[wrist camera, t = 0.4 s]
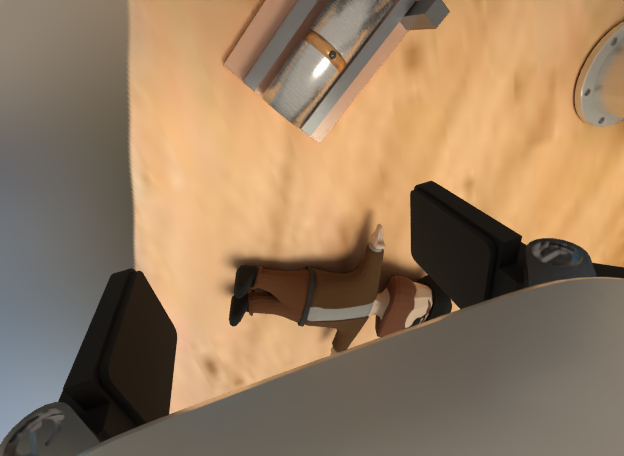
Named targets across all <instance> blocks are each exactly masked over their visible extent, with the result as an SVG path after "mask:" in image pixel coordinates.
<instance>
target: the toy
mask: <svg viewBox="0 0 624 456" xmlns="http://www.w3.org/2000/svg"><path fill="white" fill-rule="evenodd" d="M385 247H386V245H385V244H384V241H383V228H382V226H381V224H378V225H377V228H376V230H375V233H374V234H372V242H370V243H368V244H367V247H366V251H365V254H364V257H363V259H362V261H361V263H360V265H359V266H358V268H357V269H356V270H355V271H353V272H351V273H333V272H328V271H324V270H319V269H313V268H312V267H311V266H307V267H306V268H305V269H303V270H297V271H281V270H271V269H262V268H263V266H259V268H257V267H255V266H247V265H245V266H240V267H239V268H238V269H237V272H236V278H235V287H234V296H233V297H232V300H231V307H230V315H229V321H230V325H231V326H236V325H237V324H238V323H239V322H240V321H241V319H242V317H243V315H244V314H245V312H246V311H247V312H249V314H250V315H251V316H253V313H265V314H275V315H279V316H283V317H285V318H288V319H290V320H293V321H295V322H298V326H304V324H305V325H308V326H321V327H332V328H336V329H337V332H336V335H335V337H334V340H333V342H332V344H333V347H332V348H331V355H333V354H336V353H339V352H342V351H344V350H347V348H348V347H349V345H350V344H351V342H352V341H353V340H354V338H355V337H356V335H357V334H358V333H359V331H360V330H361V328H362V327H363V325H364V324H365V322H366V321H367V319H368V318H369V316H370V315H375V314H376V325H375V329H376V333H377V336H378V337H384V336H386V335H389V334H392V333H395V332H398V331H401V330H403V329H406V328H409V327H412V326H415V325H418V324H420V323H423V322H426V321H429V320H432V319H435V318H437V317H440V316H443V315H446V314H449V313H450V312H451V309H452V303H451V299H450V297H449V296H448V295H447V294H446V293H445V292H444V291H443V290H442V289H441V288H440V287H439V286H438V285H437V284H436V283H435V281H434V280H433V279H432V278H431V277H430V276H429V275H427V276H424V277H423V278H421V279H420V280H419V281H418V282H417V283H416V282H412V281H411V280H410V279H408V278H406V277H403V276H398V275H397V276H393V277H392V278H391V279H390V280H389V281H388V283H387V285H386V287H385V289H384V291H383V292H382V293H378V288H379V281H380V274H381V267H382V261H383V253H384V250H383V248H385ZM249 287H250V288H251V289H256V288H260V289H262V290H265V291H267V292H255V291H254V290H251V291H250V292H249V293H247V291H248V289H249Z"/></svg>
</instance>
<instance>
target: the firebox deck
mask: <svg viewBox="0 0 624 456" xmlns="http://www.w3.org/2000/svg"><path fill="white" fill-rule="evenodd" d="M328 2H329V0H265V2H264V3H263V5H262V6H261V8H260V9H259V11H258V12H257V14H256V15H255V17H254V18H253V20H252V21H251V23H250V25H249V26H248V28H247V29H246V31H245V32H244V34H243V35H242V37H241V38H240V40H239V41H238V43H237V44H236V46H235V48H234V49H233V51H232V52H231V54H230V55H229V57H228V58H227V60H226V61H225V63H224V66H226V67H227V68H228V69H229V70H230V71H232V72H233V73H234V74H235V75H237V76H238V77H239V78H240V79H241V80H242V81H243V82H244V83H245V84H246V85H247V86H248V87H250V88H251V89H252V90H253V91H256V92H257V93H259V94H260V95H261V96H262V95H263V94H264V92H265V91H266V89H267V88H268V87H269V85H270V84H271V82H272V81H273V80H274V78H275V77H276V75H277V74H278V72H279V71H280V70H281V68H282V67H283V65H284V64H285V63H286V61H287V60H288V58H289V57H290V55H291V54H292V53H293V51H294V50H295V48H296V47H297V46H298V44H299V43H300V41H301V39H302V38H303V37H304V35H305V34H306V32H307V31H308V30H309V29H310V27H311V26H312V24H313V23H314V21H315V20H316V19H317V17H318V16H319V14H320V13H321V11H322V10H323V9H324V7H325V6H326V4H327V3H328ZM449 12H450V11H449V10H448V8H447V7H446V5H445V4H444V2H443V1H442V0H393V4H392V6H391V7H390V8H389V10H388V11H387V12H386V14H385V15H384V16H383V18H382V19H381V20H380V22H379V23H378V24H377V26H376V27H375V28H374V30H373V31H372V32H371V33H370V35H369V36H368V37H367V39H366V40H365V41H364V43H363V44H362V45H361V47H360V48H359V49H358V51H357V52H356V53H355V54H354V56H353V57H352V58H351V60H350V61H349V62H348V64H347V65H346V67H345V68H344V69H343V71H342V72H341V73H340V75H339V76H338V77H337V78H336V79H335V81H334V82H333V83H332V85H331V86H330V87H329V89H328V90H327V91H326V93H325V94H324V95H323V97H322V98H321V99H320V101H319V102H318V103H317V104H316V106H315V107H314V108H313V110H312V111H311V112H310V114H309V115H308V116H307V118H306V119H305V120H304V122H303V123H302V124H301V125H300V127H299V128H300V129H301V130H302V131H304V132H305V133H306V134H307V135H309V136H311V137H312V138H314V139H315V140H316V141H317V142H318V143H320V142H321V141H322V140H323V138H324V137H325V136H326V134H327V133H328V132H329V131H330V129H331V128H332V127H333V126H334V124H335V123H336V122H337V121H338V119H339V118H340V117H341V116H342V114H343V113H344V112H345V111H346V109H347V108H348V107H349V105H350V104H351V103H352V102H353V100H354V99H355V98H356V97H357V95H358V94H359V93H360V92H361V90H362V89H363V88H364V87H365V85H366V84H367V83H368V81H369V80H370V79H371V78H372V76H373V75H374V74H375V73H376V71H377V70H378V69H379V68H380V66H381V65H382V64H383V63H384V61H385V60H386V59H387V58H388V56H389V55H390V54H391V52H392V51H393V50H394V49H395V47H396V46H397V45H398V44H399V42H400V41H401V40H402V39H403V37H404V36H405V35H406V34H407V32H408V31H409V30H421V29H436V28H437V27H438V25H439V24H440V23H441V22H442V21H443V19H444V18H445V17H446V16H447V14H448V13H449Z"/></svg>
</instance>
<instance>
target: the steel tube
mask: <svg viewBox="0 0 624 456" xmlns="http://www.w3.org/2000/svg"><path fill="white" fill-rule="evenodd" d="M392 4H393V0H329V2H328V3H327V4H326V6H325V7H324V9H323V10H322V11H321V13H320V14H319V16H318V17H317V19H316V20H315V21H314V23H313V24H312V26H311V27H310V29H309V30H308V31H307V32H306V34H305V35H304V37H303V38H302V39H301V41H300V43H299V44H298V46H297V47H296V48H295V50H294V51H293V53H292V54H291V55H290V57H289V58H288V60H287V61H286V63H285V64H284V65H283V67H282V68H281V70H280V71H279V72H278V74H277V75H276V77H275V78H274V80H273V81H272V82H271V84H270V85H269V87H268V88H267V89H266V91H265V92H264V94H263V95H262V98H263V99H264V100H265V101H266V102H267V103H268V104H269V105H270V106H271V107H273V108H274V109H275V110H276V111H277V112H278V113H280V114H281V115H282V116H283V117H285V118H286V119H287V120H288V121H290V122H291V123H292V124H293V125H295V126H296V127H298V128H299V127H300V125H301V124H302V123H303V122H304V120H305V119H306V118H307V116H308V115H309V114H310V112H311V111H312V110H313V108H314V107H315V106H316V104H317V103H318V102H319V101H320V99H321V98H322V97H323V95H324V94H325V93H326V91H327V90H328V89H329V87H330V86H331V85H332V83H333V82H334V81H335V79H336V78H337V77H338V76H339V75H340V73H341V72H342V71H343V69H344V68H345V67H346V65H347V64H348V62H349V61H350V60H351V58H352V57H353V56H354V54H355V53H356V52H357V51H358V49H359V48H360V47H361V45H362V44H363V43H364V41H365V40H366V39H367V37H368V36H369V35H370V33H371V32H372V31H373V30H374V28H375V27H376V26H377V24H378V23H379V22H380V20H381V19H382V18H383V16H384V15H385V14H386V12H387V11H388V10H389V8H390V7H391V6H392Z"/></svg>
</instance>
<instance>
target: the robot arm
mask: <svg viewBox="0 0 624 456" xmlns="http://www.w3.org/2000/svg"><path fill="white" fill-rule="evenodd" d="M575 108H576V111H577V114H578V116H579V117H580V119H581V120H582V121H584V122H585V123H587V124H590V125H594V126H599V127H605V126H610V125H613V124H616V123H618V122H620V121H622V120H624V21H623V22H621V23H620V24H618V25H617V26H616V27H614V28H613V29H612V30H611V31H610V32H609V33H608V34H606V35H605V36H604V37H603V38H602V39H601V41H600V42H599V43H598V44H597V46H596V47H595V48H594V49H593V51H592V52H591V54H590V55H589V57H588V59H587V60H586V62H585V64H584V66H583V68H582V70H581V73H580V75H579V78H578V81H577V85H576V90H575ZM410 207H411V254H412V257H413V259H414V260H415V261H416V262H417V263H418V265H419V266H420V267H421V268H422V269H423V270H424V271H425V272H426V273H427V274H428V275H429V276H430V277H431V278H432V279H433V280H434V281H435V283H436V284H437V285H438V286H439V287H440V288H441V289H442V290H443V291H444V292H445V293H446V294H447V295H448V296H449V297H450V298H451V299H452V301H453V302H454V303H455V304H456V305H457V306H458V307H459V308H460V310H457V311H455V312H452V313H449V314H446V315H443V316H440V317H437V318H435V319H432V320H429V321H426V322H423V323H420V324H418V325H415V326H412V327H409V328H406V329H403V330H401V331H398V332H395V333H392V334H389V335H386V336H384V337H381V338H378V339H375V340H372V341H370V342H367V343H364V344H361V345H358V346H356V347H353V348H350V349H347V350H344V351H342V352H339V353H336V354H333V355H330V356H328V357H325V358H322V359H319V360H317V361H314V362H311V363H308V364H305V365H303V366H300V367H297V368H294V369H291V370H289V371H286V372H283V373H281V374H278V375H275V376H272V377H270V378H267V379H264V380H261V381H259V382H256V383H253V384H250V385H248V386H245V387H242V388H239V389H237V390H234V391H231V392H228V393H226V394H223V395H220V396H217V397H215V398H212V399H209V400H206V401H204V402H201V403H198V404H196V405H193V406H190V407H188V408H185V409H183V410H180V411H177V412H175V413H172V414H169V409H170V399H171V390H172V381H173V372H174V362H175V353H176V344H177V333H176V329H175V327H174V325H173V323H172V322H171V320H170V318H169V317H168V315H167V313H166V312H165V310H164V308H163V306H162V305H161V303H160V301H159V300H158V298H157V296H156V294H155V293H154V291H153V289H152V288H151V286H150V284H149V283H148V281H147V279H146V277H145V276H144V274H143V273H142V272H141V271H137V272H136V271H135V270H134V269H132V268H131V269H127V270H124V271H121V272H117V273H114V274H112V275H111V276H110V279H109V281H108V283H107V286H106V288H105V290H104V293H103V295H102V297H101V300H100V302H99V305H98V307H97V309H96V312H95V314H94V317H93V319H92V321H91V324H90V326H89V328H88V331H87V333H86V335H85V338H84V340H83V342H82V345H81V347H80V350H79V352H78V354H77V357H76V359H75V361H74V364H73V366H72V369H71V371H70V373H69V376H68V378H67V380H66V383H65V385H64V387H63V392H62V394H61V396H60V399H59V401H58V402H54V403H50V404H47V405H44V406H42V407H40V408H38V409H36V410H34V411H33V412H32V413H30V414H29V415H27V416H26V417H24V418H23V419H22V420H21V421H20V422H19V423H18V424H17V425H15V426H14V427H13V428H12V430H11V431H10V432H9V433H8V434H7V436H6V437H5V438H4V439H3V441H2V443H1V444H0V456H624V268H623V267H617V266H610V265H603V264H596V263H592V261H591V258H590V256H589V255H588V253H587V252H586V251H585V250H584V249H583V248H581V247H580V246H578V245H576V244H574V243H571V242H568V241H565V240H560V239H554V238H542V239H536V240H534V241H531V242H530V243H529V244H528V245H525V244H523V243H522V242H521V239H522V236H521V235H519V234H518V233H516V232H514V231H513V230H511V229H509V228H508V227H506V226H505V225H503V224H501V223H500V222H498V221H497V220H495V219H493V218H492V217H490V216H488V215H487V214H485V213H484V212H482V211H480V210H479V209H477V208H476V207H474V206H472V205H471V204H469V203H467V202H466V201H464V200H463V199H461V198H459V197H458V196H456V195H455V194H453V193H451V192H450V191H448V190H446V189H445V188H443V187H442V186H440V185H438V184H437V183H435V182H433V181H429V182H425V183H422V184H419V185H416V186H415V188H414V190H412V191H411V194H410Z"/></svg>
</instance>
